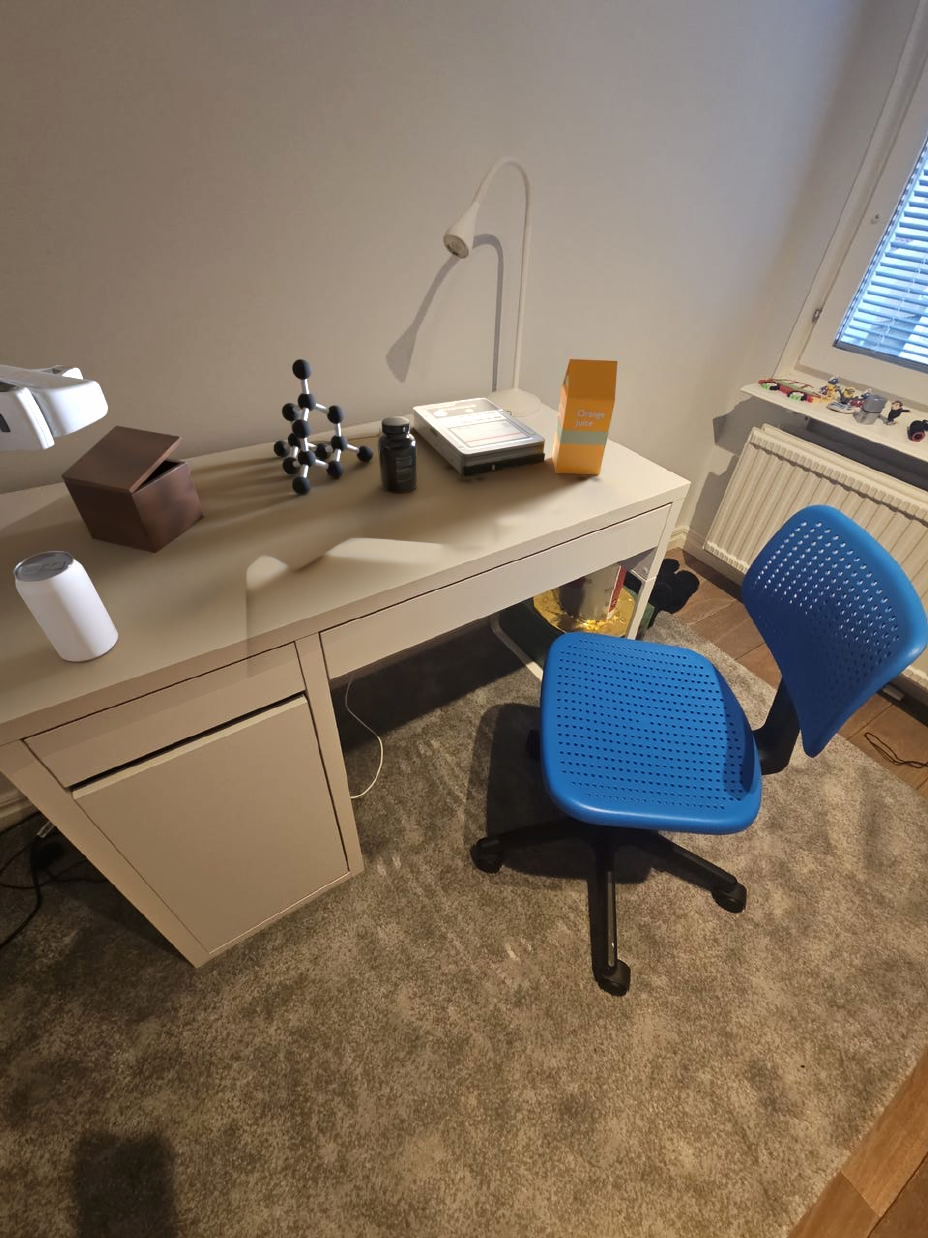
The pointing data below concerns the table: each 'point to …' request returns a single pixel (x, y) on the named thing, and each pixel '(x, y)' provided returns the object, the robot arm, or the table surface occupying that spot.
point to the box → (141, 508)
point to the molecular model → (303, 430)
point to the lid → (122, 459)
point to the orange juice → (584, 416)
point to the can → (65, 605)
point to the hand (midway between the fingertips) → (72, 372)
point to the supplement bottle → (397, 456)
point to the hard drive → (478, 436)
